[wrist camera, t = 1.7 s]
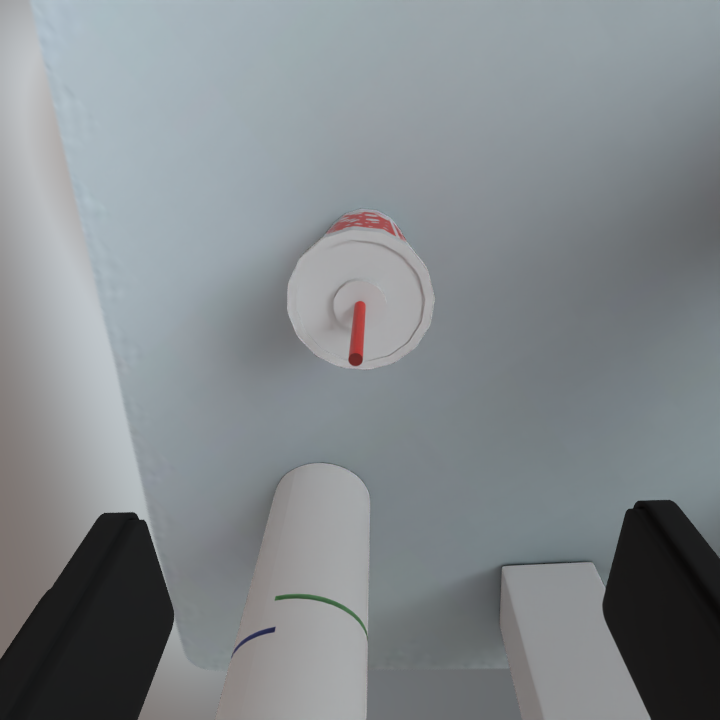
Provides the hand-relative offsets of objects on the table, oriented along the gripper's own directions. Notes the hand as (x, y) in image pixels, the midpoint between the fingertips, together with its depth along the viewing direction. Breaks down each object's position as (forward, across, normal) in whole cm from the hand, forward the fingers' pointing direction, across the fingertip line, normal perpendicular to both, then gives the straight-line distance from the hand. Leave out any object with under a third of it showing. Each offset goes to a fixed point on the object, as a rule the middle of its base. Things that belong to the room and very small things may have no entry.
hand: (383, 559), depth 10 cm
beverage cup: (+21, 0, -1) cm, 21 cm away
